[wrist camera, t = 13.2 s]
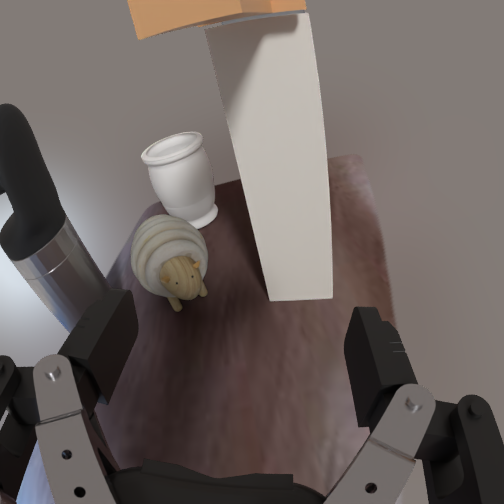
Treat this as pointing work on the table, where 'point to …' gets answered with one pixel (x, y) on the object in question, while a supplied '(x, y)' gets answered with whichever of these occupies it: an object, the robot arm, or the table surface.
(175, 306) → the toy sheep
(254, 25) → the pedestal
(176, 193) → the jar
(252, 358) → the table surface
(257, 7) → the tan piece
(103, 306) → the robot arm
